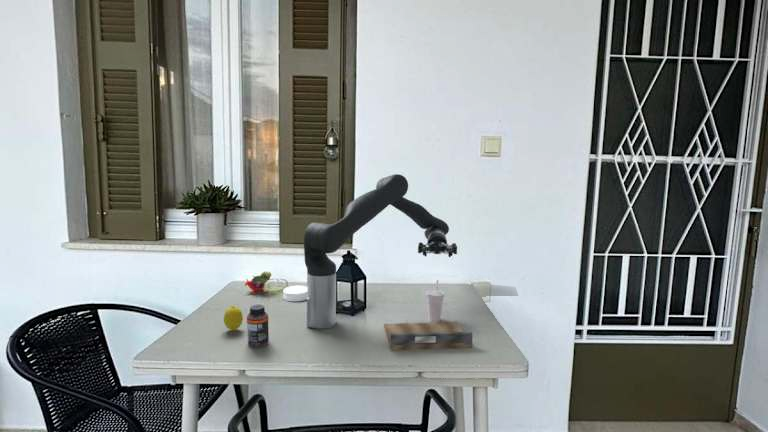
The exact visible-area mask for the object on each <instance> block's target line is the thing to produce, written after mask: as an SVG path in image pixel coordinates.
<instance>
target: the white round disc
mask: <svg viewBox="0 0 768 432" xmlns="http://www.w3.org/2000/svg"><path fill="white" fill-rule="evenodd" d="M282 295H283V299H284V300H285V301H287V302H295V303H296V302H303V301H307V286H304V285H291V286H288V287H285V288H283V293H282Z"/></svg>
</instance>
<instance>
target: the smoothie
mask: <svg viewBox="0 0 768 432" xmlns="http://www.w3.org/2000/svg"><path fill="white" fill-rule="evenodd" d="M435 284H436V288H435V289H429V290H426V291H425V296H426V306H427V314H428V315H427V316H428V321H429V322H430V323H436V322H440V320H441V315H442V314H441V313H442V307H443V301H444V297H445V295H446V294H445V292H444V291H442V290H439V279H437V280H436V283H435Z"/></svg>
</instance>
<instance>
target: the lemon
mask: <svg viewBox="0 0 768 432" xmlns="http://www.w3.org/2000/svg"><path fill="white" fill-rule="evenodd" d="M243 318H244V317H243V312H242V310H241V309H240V308H239V307H237V306H235V305H231V306H230V307H228V308H227V309H226V310H225V312H224V314H223V323H224V326H225V327H226V329H228V330H231V331H233V332H235V331H236V330H237V329H238V328H240V327H241V326H242V325H243V320H244V319H243Z"/></svg>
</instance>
